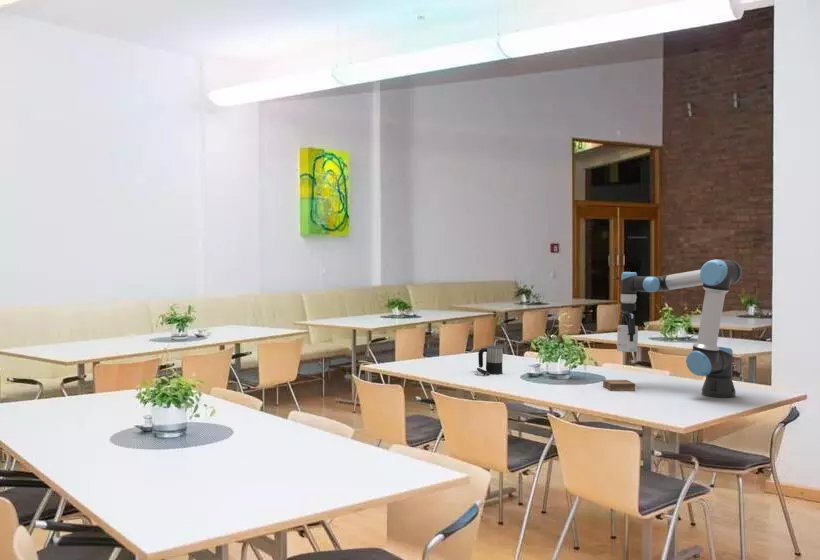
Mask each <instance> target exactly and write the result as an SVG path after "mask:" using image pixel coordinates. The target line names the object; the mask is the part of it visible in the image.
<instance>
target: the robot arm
mask: <svg viewBox="0 0 820 560" xmlns="http://www.w3.org/2000/svg"><path fill="white" fill-rule="evenodd" d="M742 275H743V270H742V267H741V265H740V264H739V263H738V262H737V261H735V260H732V259H711V260H708V261H706V262H705V263H703V265H702V266H701V268H700V269H697V270H690V271H686V272H685V271H684V272H679V273H678V272H677V273H673V274H668V275H667V274H666V275H662V276H642V275H641V276H639V275H638V273H637V272H636V271H634V272H633V271H632V272H631V271H623V272H621V275H620V276H621V277H620V278H621V279H620V310H621V311H623V312H621V319H620V325H628V332H629V333H628V334H627V335H628V348H634V334H636V332H635V326H636V320H635V317H636V315H635V313H634V314H633V312H634V311H637V304H636V302H637V298H638V296H637V292H644V293H645V292H646V293H655V292H668V291H671V290H677V289H678V290H679V289H685V288H686V289H687V288H691V287H699V286H702V289H703V290H704V291H705V292H704V297H703V303H702V309H701V316H700V322H699V327H698V328H699V329H698V335H697V340H696V342H694V343H693V345H692V351H691V352H689V353H688V354H687V355H686V360H685V361H686V362H685V363H686V367H687V369H688V371H690V372H691V374H693V375H694V376H698V377H705V379H704V382H703V385H702V387H701V395H702V396H703V395H704V396H706V395H707V397H713V398H735V397H736V395H737V393H736V388H735V386H734V382H733V362H734V361H733V358H734V355H733V354H734V353H733V352H734V350H733V349H732V348H731V347H725V346H724V347H723V346H718V339H719V333H720V327H721V322H722V321H721V319H722V315H723V310H724V309H723V308H724V304H725V299H726V298H725V296H726V294H728V292H730V288H731V285H735V284H736V283H738V281H740V279H741V278H742Z"/></svg>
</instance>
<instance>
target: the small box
mask: <svg viewBox="0 0 820 560" xmlns="http://www.w3.org/2000/svg"><path fill="white" fill-rule="evenodd" d="M638 328H639V326H638V325H635V332H636V334H634V348H628V335H627V334H628V333H629V332H628V325H621V324H617V335H616V336H617V340H616V341H617V342H616V351H619V352H626V353H634V352H635V353H636V352H638V348H639V347H638V343H639V335H638V334H639V333H638V332H639V331H638V330H639V329H638Z"/></svg>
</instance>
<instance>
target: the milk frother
mask: <svg viewBox="0 0 820 560" xmlns="http://www.w3.org/2000/svg"><path fill="white" fill-rule="evenodd" d="M484 353H486V354H485V356H486V357H485V359H486V360H485V361H486V362H485V369H483V367H484ZM477 355H478V367H476V371H477V372H479V373H481V374H482V375H483V376H490V374H491V375H501V374H503V359H504V358H503V357H504V346H503V345H502V346H501V345H487V346H486V347H483V348H481V349H479V351H478V354H477Z"/></svg>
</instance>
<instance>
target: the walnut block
mask: <svg viewBox="0 0 820 560" xmlns="http://www.w3.org/2000/svg"><path fill="white" fill-rule="evenodd" d="M602 380H603V381H602V384H603V385H602V386H603V389H607V390H608V391H610V392H636V383H634V382H632V381H630V380H628V379H602Z"/></svg>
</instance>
